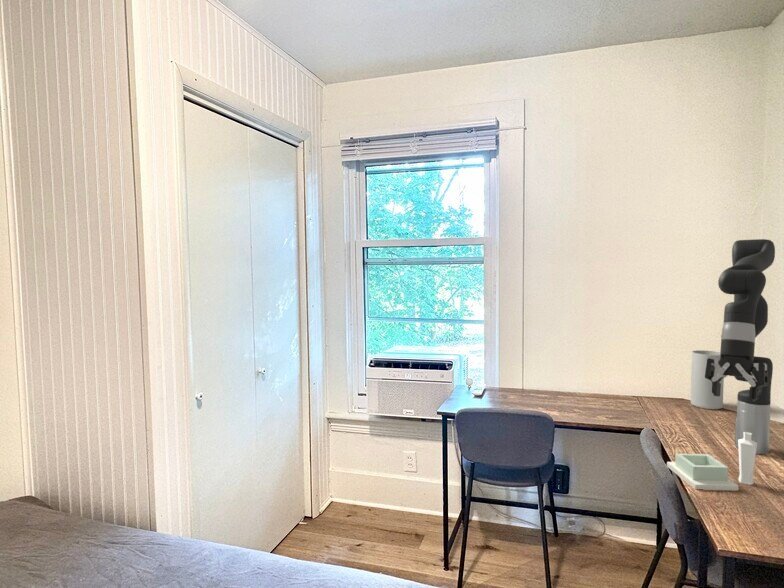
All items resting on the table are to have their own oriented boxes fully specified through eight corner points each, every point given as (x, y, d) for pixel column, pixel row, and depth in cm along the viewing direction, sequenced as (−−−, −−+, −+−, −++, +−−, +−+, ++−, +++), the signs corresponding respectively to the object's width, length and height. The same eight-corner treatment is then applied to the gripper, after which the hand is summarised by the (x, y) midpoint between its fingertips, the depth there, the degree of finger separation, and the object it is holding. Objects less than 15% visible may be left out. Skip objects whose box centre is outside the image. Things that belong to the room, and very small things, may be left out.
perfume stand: (666, 466, 151) (667, 449, 151) (705, 467, 150) (705, 450, 150) (695, 489, 135) (695, 471, 135) (738, 490, 135) (738, 472, 134)
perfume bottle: (756, 481, 140) (757, 432, 139) (754, 486, 137) (756, 436, 136) (737, 477, 143) (738, 429, 142) (735, 482, 140) (737, 433, 139)
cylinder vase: (687, 405, 216) (688, 352, 215) (694, 400, 225) (695, 349, 224) (719, 411, 207) (721, 356, 206) (725, 405, 216) (727, 352, 215)
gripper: (774, 343, 125) (771, 404, 123) (716, 340, 137) (712, 395, 135) (762, 339, 121) (758, 402, 119) (703, 336, 133) (698, 393, 131)
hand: (733, 398), depth 127 cm, fingers open, 8 cm apart
